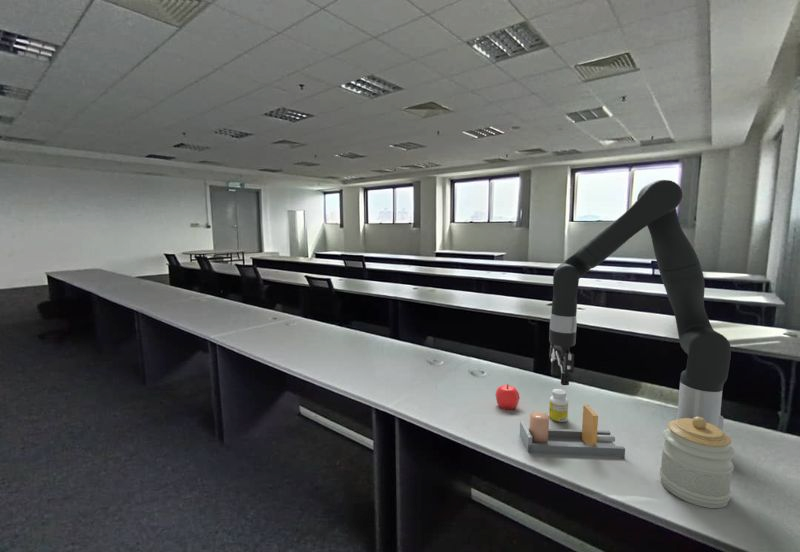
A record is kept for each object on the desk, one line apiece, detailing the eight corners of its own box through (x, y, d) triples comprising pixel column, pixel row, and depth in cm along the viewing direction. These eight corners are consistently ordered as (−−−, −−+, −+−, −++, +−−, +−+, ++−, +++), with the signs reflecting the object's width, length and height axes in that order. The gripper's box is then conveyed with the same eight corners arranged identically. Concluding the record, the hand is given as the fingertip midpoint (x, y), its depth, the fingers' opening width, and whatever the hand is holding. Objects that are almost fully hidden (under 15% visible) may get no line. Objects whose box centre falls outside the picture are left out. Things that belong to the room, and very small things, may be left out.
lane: (608, 440, 109) (609, 423, 108) (624, 458, 100) (625, 440, 99) (519, 437, 110) (520, 420, 110) (527, 454, 101) (528, 437, 101)
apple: (490, 404, 132) (490, 382, 131) (508, 400, 135) (509, 378, 134) (505, 414, 124) (505, 390, 124) (524, 409, 128) (525, 386, 127)
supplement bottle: (552, 415, 124) (553, 386, 122) (569, 420, 120) (571, 390, 119) (546, 421, 119) (547, 391, 118) (564, 427, 116) (566, 396, 115)
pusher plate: (607, 439, 107) (609, 405, 106) (619, 452, 101) (621, 416, 100) (581, 438, 108) (583, 404, 107) (591, 451, 101) (593, 415, 100)
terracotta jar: (544, 438, 108) (545, 412, 107) (550, 448, 103) (551, 420, 102) (526, 438, 108) (527, 411, 107) (531, 448, 103) (532, 420, 102)
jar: (668, 501, 84) (674, 425, 82) (652, 467, 96) (658, 401, 94) (741, 516, 79) (750, 437, 77) (715, 479, 91) (722, 409, 89)
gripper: (585, 335, 109) (581, 389, 111) (566, 323, 123) (563, 371, 125) (558, 334, 110) (555, 388, 111) (543, 322, 124) (540, 370, 126)
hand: (559, 379), depth 118 cm, fingers open, 8 cm apart
